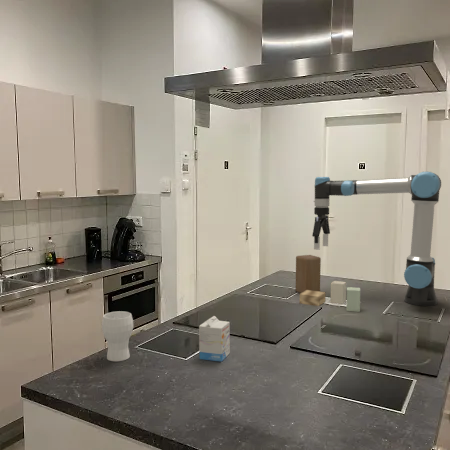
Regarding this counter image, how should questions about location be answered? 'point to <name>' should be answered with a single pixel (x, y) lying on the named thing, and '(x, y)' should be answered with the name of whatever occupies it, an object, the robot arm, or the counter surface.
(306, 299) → the oak base
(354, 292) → the sage block
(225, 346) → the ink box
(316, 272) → the wooden block
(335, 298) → the cream block
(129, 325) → the cup
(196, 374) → the counter surface
